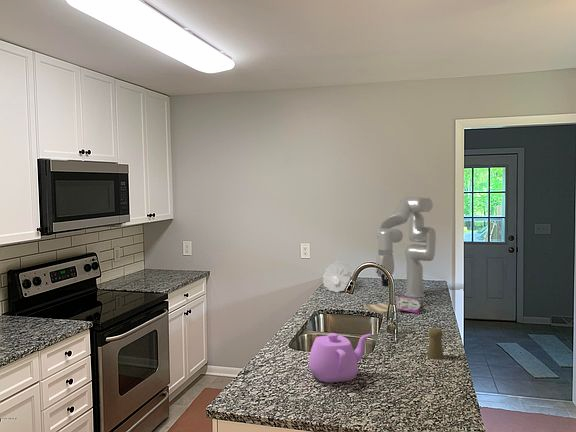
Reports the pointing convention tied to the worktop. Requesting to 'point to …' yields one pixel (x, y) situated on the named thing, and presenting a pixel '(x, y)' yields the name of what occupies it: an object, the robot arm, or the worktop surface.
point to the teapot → (335, 358)
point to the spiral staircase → (337, 276)
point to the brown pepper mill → (435, 344)
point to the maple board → (379, 308)
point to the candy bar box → (408, 304)
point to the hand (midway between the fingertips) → (385, 286)
